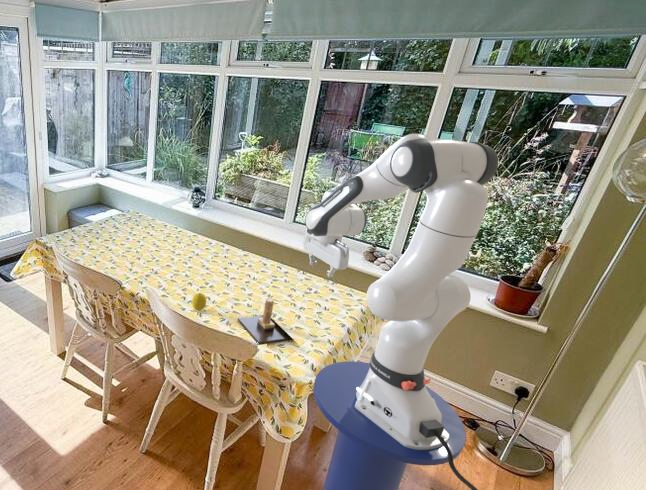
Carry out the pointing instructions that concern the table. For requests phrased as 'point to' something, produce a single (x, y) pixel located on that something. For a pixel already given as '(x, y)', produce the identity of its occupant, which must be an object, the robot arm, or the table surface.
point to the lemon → (199, 301)
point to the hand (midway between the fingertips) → (320, 270)
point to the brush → (267, 316)
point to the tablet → (259, 334)
